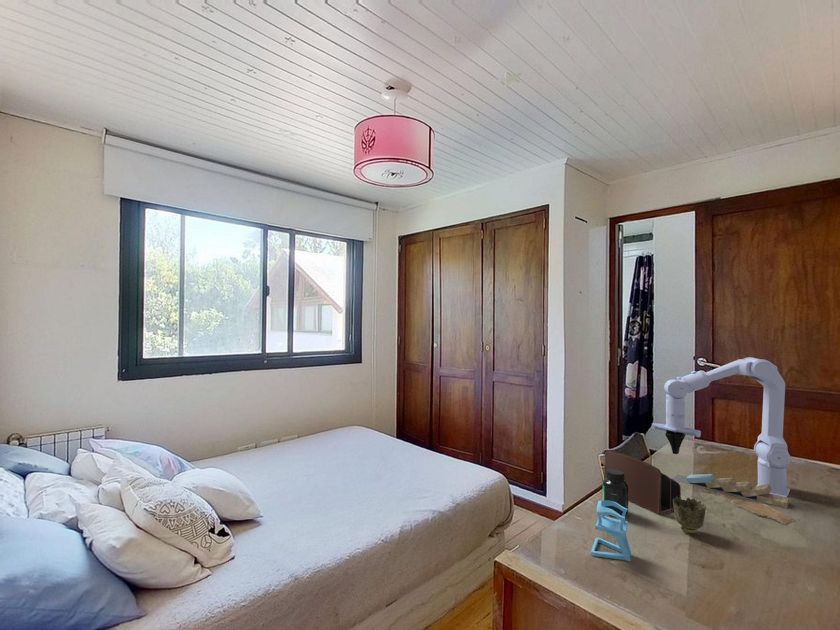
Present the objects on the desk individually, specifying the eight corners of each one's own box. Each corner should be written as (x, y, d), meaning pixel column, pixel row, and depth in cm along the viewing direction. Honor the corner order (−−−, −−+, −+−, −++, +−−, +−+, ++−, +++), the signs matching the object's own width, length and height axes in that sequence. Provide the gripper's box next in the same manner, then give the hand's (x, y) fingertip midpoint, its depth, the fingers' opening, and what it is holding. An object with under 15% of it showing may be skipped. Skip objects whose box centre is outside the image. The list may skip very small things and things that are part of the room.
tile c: (741, 491, 130) (766, 488, 125) (744, 487, 133) (768, 484, 128) (743, 497, 129) (769, 493, 125) (746, 493, 132) (771, 489, 128)
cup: (701, 527, 111) (700, 498, 111) (710, 541, 104) (710, 510, 104) (669, 523, 114) (669, 494, 114) (676, 536, 107) (676, 506, 107)
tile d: (756, 495, 127) (786, 502, 122) (759, 491, 130) (788, 498, 125) (756, 500, 127) (787, 508, 122) (759, 496, 130) (788, 503, 125)
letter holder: (659, 516, 118) (659, 467, 118) (603, 490, 136) (602, 447, 136) (681, 509, 122) (681, 462, 122) (624, 485, 140) (623, 444, 140)
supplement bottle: (599, 512, 120) (599, 471, 120) (607, 505, 125) (607, 465, 125) (624, 520, 115) (623, 477, 115) (631, 512, 120) (631, 471, 120)
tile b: (722, 487, 134) (747, 485, 129) (725, 483, 137) (750, 481, 132) (724, 492, 133) (749, 490, 128) (727, 488, 136) (752, 486, 131)
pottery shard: (778, 529, 111) (778, 522, 111) (725, 503, 127) (725, 498, 127) (801, 526, 113) (801, 520, 113) (746, 501, 128) (746, 496, 128)
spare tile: (686, 478, 141) (709, 477, 136) (690, 474, 144) (712, 474, 139) (687, 482, 141) (711, 482, 136) (691, 479, 144) (714, 478, 139)
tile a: (705, 482, 137) (729, 481, 132) (709, 479, 140) (732, 477, 135) (707, 487, 136) (731, 486, 132) (711, 484, 140) (734, 482, 135)
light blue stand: (629, 566, 94) (629, 514, 94) (590, 555, 98) (591, 505, 98) (632, 550, 100) (632, 501, 100) (595, 540, 105) (596, 493, 105)
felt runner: (677, 475, 149) (677, 474, 149) (770, 498, 129) (770, 497, 129) (671, 480, 144) (671, 479, 144) (767, 505, 125) (767, 503, 125)
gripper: (648, 412, 146) (649, 450, 145) (696, 420, 135) (696, 461, 135) (655, 409, 150) (655, 446, 150) (702, 416, 140) (702, 456, 140)
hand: (675, 453), depth 143 cm, fingers closed
